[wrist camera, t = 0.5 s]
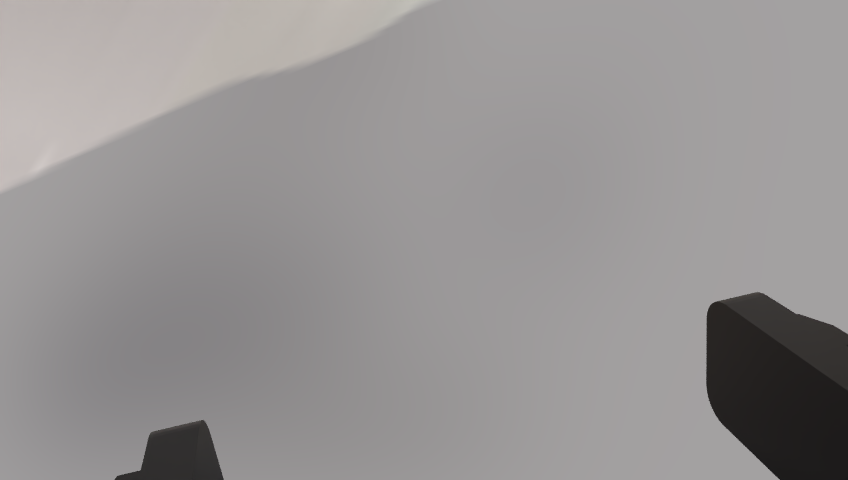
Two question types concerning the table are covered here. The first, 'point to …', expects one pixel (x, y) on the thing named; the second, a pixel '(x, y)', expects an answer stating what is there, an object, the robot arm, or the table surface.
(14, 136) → the table surface
